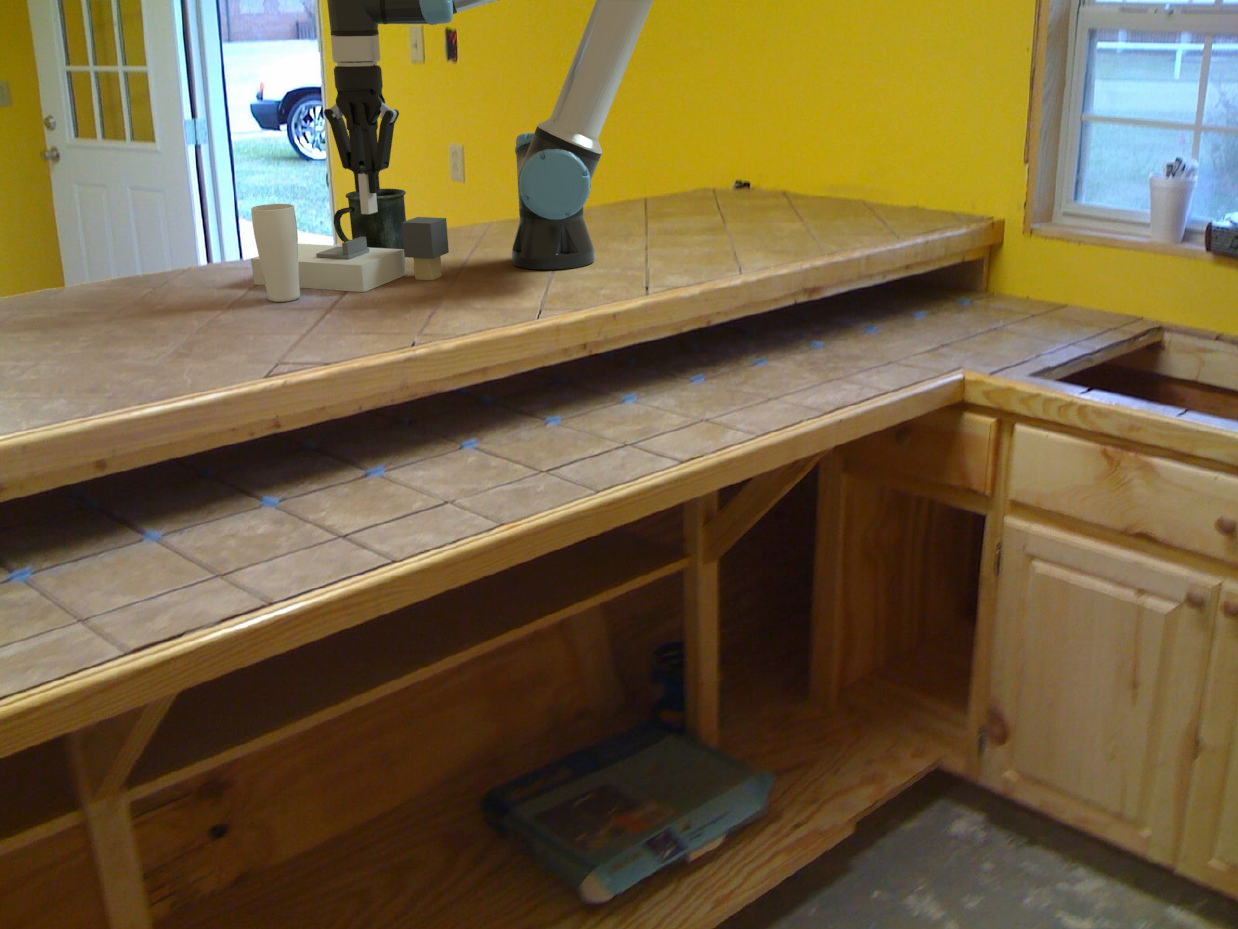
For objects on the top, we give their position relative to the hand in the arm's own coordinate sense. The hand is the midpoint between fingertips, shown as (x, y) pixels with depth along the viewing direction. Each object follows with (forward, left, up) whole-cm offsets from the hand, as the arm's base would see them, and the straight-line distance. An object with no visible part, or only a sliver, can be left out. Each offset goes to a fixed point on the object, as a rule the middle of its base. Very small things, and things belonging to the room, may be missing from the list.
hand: (369, 212), depth 199 cm
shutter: (+7, -2, -8) cm, 11 cm away
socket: (+10, -2, -12) cm, 16 cm away
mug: (+13, -21, -13) cm, 27 cm away
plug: (-6, -8, -12) cm, 16 cm away
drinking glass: (+9, +13, -13) cm, 21 cm away
